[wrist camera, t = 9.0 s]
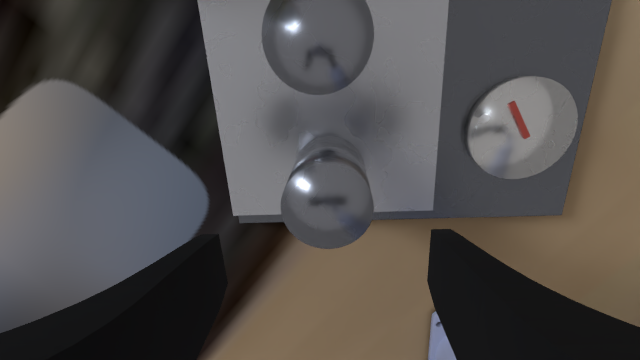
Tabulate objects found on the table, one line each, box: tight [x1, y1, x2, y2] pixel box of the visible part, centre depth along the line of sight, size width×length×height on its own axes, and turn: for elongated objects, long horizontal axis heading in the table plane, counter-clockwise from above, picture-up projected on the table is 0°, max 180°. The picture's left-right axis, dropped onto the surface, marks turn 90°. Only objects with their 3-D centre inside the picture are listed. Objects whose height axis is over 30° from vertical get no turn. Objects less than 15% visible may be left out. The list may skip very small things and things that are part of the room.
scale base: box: [239, 0, 612, 223], centre depth 18 cm, size 14×20×2 cm
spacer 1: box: [262, 0, 374, 95], centre depth 14 cm, size 4×4×5 cm
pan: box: [197, 0, 449, 216], centre depth 18 cm, size 12×12×1 cm
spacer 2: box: [281, 136, 374, 249], centre depth 16 cm, size 4×4×5 cm
